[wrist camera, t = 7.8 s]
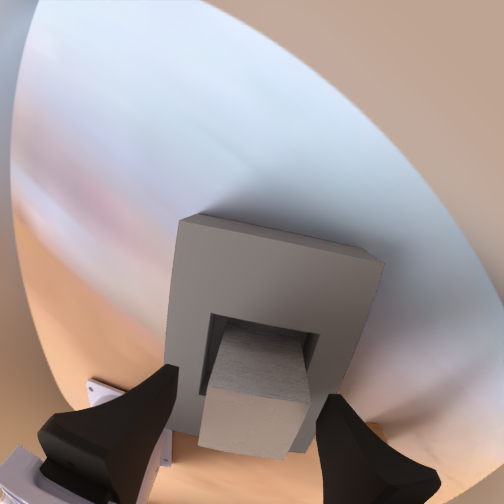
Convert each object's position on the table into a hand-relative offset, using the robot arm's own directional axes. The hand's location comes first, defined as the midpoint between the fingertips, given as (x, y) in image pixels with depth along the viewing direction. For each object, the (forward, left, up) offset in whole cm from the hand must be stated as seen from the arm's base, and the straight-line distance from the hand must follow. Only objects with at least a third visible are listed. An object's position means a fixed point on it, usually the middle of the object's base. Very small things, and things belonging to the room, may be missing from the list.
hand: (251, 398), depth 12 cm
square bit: (0, 0, -5) cm, 5 cm away
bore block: (0, 0, -6) cm, 6 cm away
